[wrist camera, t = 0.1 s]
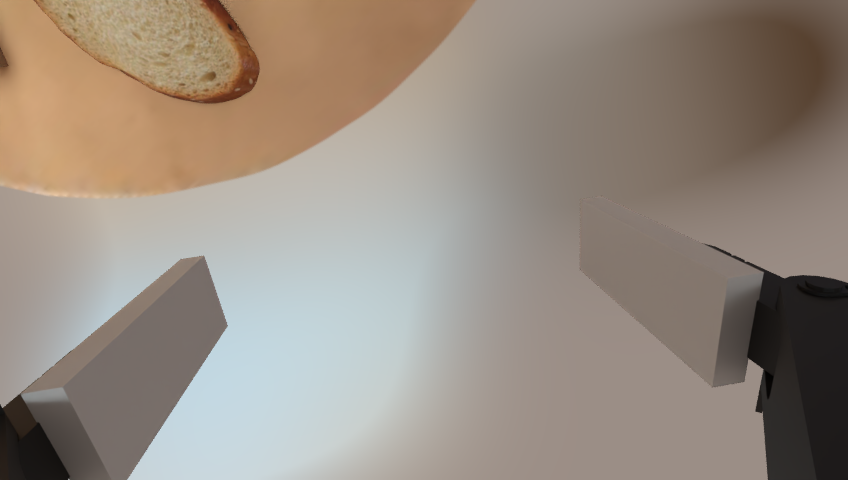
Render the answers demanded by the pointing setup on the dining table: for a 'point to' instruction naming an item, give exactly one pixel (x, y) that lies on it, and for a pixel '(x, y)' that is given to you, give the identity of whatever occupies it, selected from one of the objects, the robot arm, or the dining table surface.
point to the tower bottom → (2, 60)
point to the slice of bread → (163, 44)
